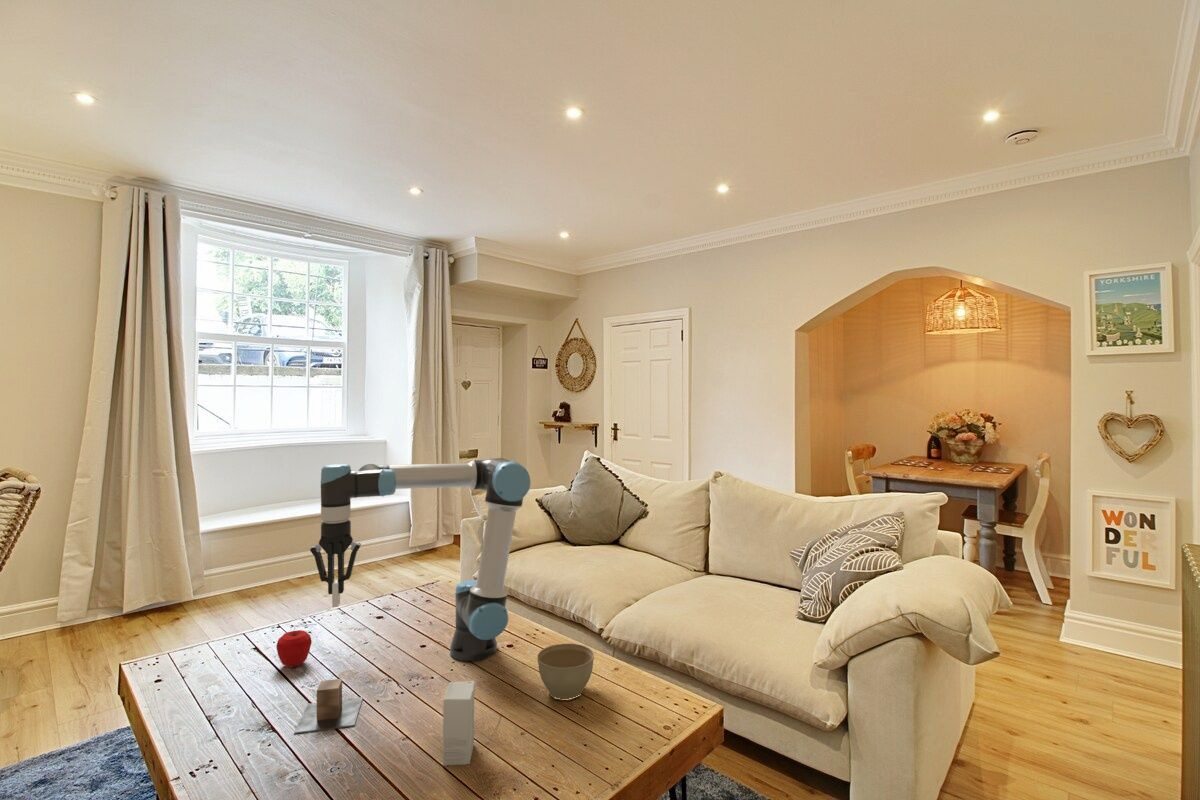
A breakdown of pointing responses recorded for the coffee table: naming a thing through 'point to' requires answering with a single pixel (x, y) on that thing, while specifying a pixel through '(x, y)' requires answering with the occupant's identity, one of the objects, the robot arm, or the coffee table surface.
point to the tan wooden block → (329, 699)
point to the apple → (293, 648)
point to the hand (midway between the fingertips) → (336, 605)
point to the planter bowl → (565, 669)
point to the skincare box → (458, 723)
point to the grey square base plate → (345, 719)
